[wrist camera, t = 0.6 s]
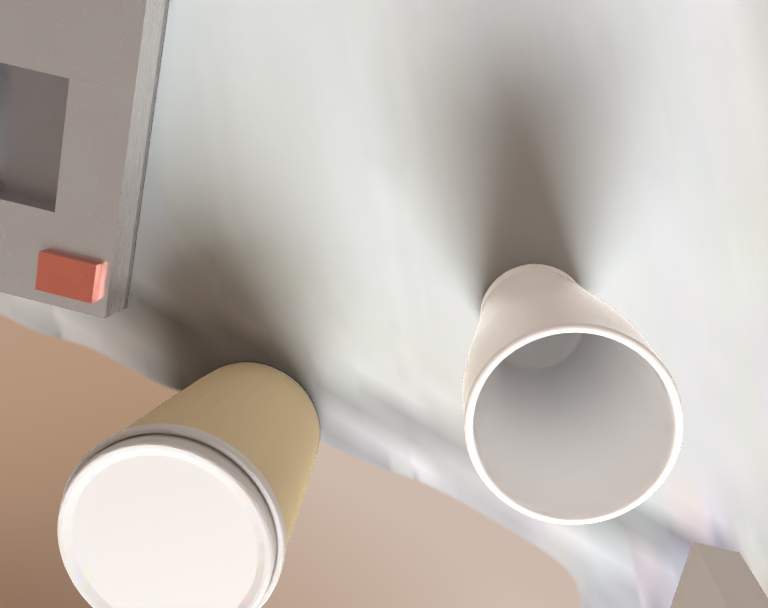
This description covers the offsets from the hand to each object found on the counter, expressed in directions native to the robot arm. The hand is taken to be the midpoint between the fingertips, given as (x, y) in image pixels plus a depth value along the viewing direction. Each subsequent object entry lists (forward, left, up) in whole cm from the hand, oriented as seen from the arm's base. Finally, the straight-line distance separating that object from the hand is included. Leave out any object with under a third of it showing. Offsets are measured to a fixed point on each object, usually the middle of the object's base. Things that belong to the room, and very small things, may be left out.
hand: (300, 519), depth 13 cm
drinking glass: (+1, +6, -25) cm, 26 cm away
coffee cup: (+11, -7, -25) cm, 28 cm away
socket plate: (-2, -21, -25) cm, 32 cm away
